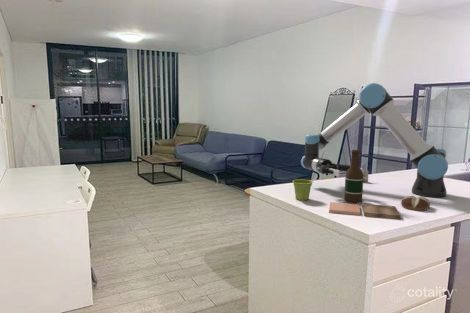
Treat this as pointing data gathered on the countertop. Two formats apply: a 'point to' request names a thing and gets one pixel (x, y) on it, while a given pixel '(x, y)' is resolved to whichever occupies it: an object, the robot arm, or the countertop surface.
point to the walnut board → (380, 211)
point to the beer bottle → (354, 180)
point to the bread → (415, 203)
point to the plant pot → (302, 188)
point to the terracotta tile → (344, 208)
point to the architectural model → (365, 176)
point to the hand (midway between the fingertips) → (350, 172)
